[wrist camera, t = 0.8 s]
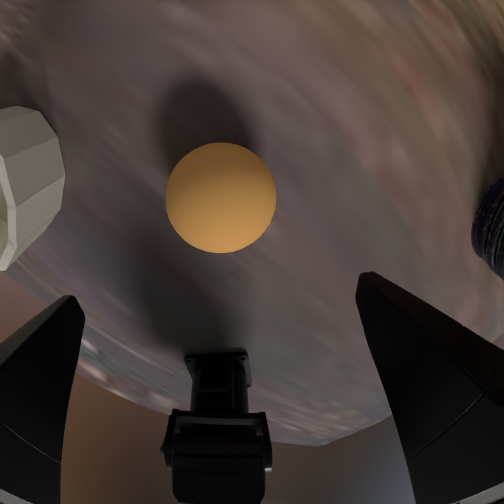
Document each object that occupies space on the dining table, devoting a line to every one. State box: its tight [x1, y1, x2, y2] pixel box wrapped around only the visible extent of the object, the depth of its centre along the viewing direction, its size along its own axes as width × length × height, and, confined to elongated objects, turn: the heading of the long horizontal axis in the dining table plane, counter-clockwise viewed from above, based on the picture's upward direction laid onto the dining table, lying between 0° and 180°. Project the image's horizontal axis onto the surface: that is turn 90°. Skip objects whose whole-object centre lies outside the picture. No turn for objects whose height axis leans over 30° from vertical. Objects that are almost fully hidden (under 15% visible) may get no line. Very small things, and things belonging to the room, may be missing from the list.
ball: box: [165, 143, 276, 253], centre depth 15 cm, size 6×6×6 cm
